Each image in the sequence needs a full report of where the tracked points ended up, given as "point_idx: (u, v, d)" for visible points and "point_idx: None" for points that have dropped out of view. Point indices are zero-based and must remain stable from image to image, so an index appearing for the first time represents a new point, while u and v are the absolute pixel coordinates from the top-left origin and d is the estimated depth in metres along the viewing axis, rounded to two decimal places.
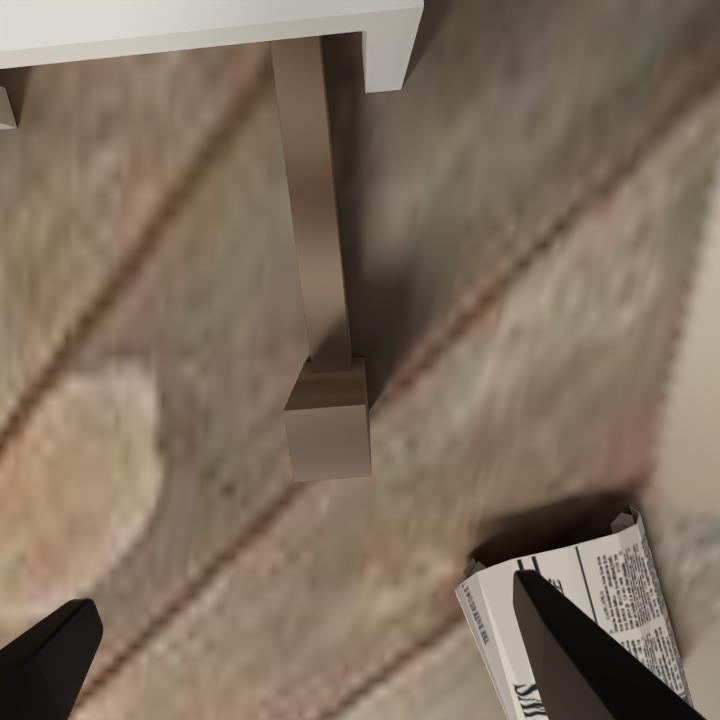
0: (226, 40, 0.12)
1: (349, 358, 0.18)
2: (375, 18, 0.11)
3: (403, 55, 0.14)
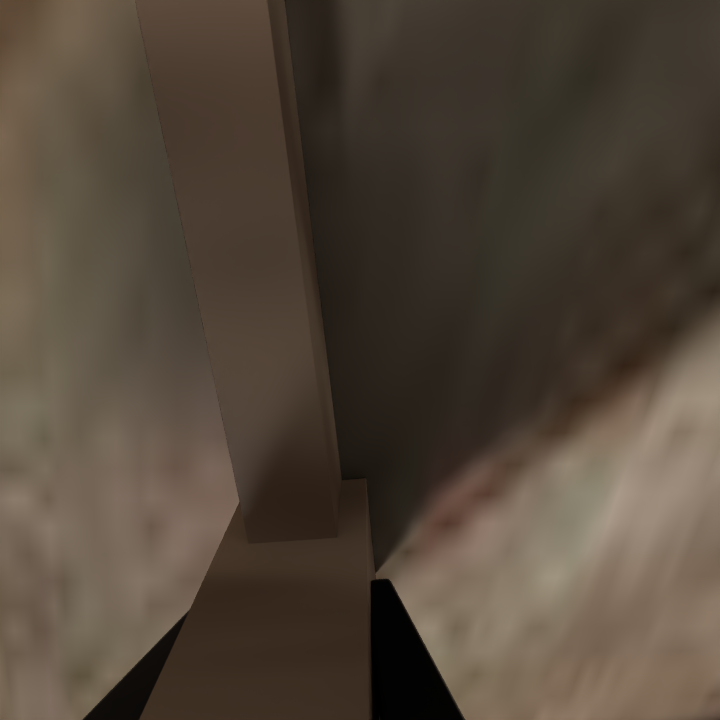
0: None
1: (331, 512, 0.08)
2: None
3: None
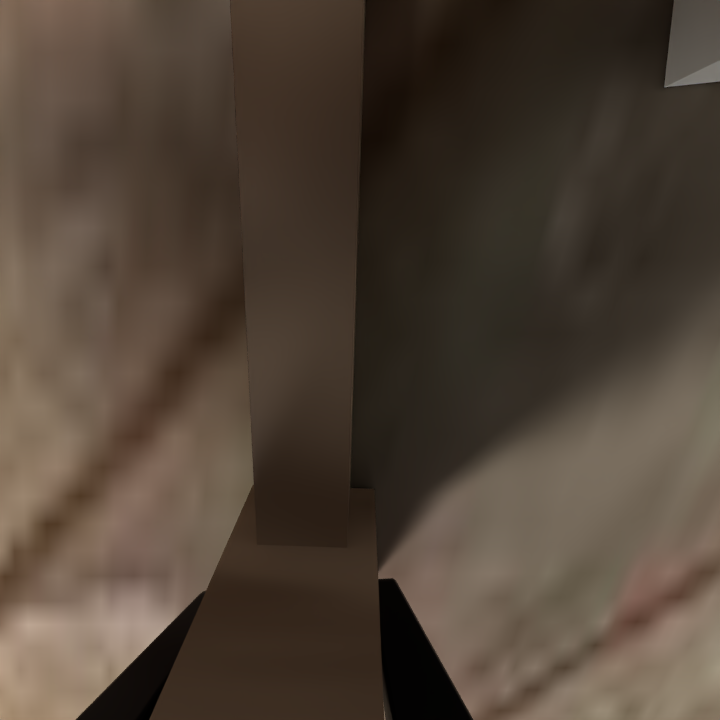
0: None
1: (345, 522, 0.08)
2: None
3: None
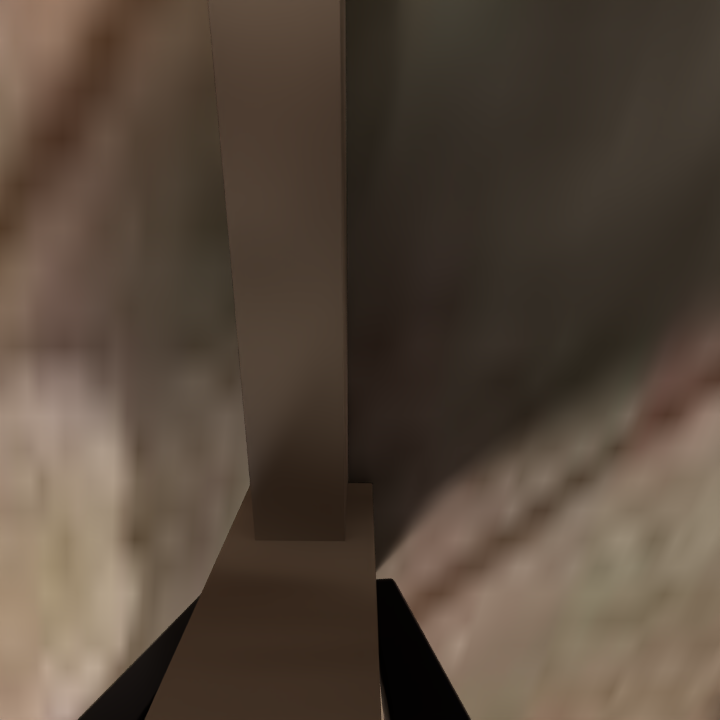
0: None
1: (342, 515, 0.08)
2: None
3: None
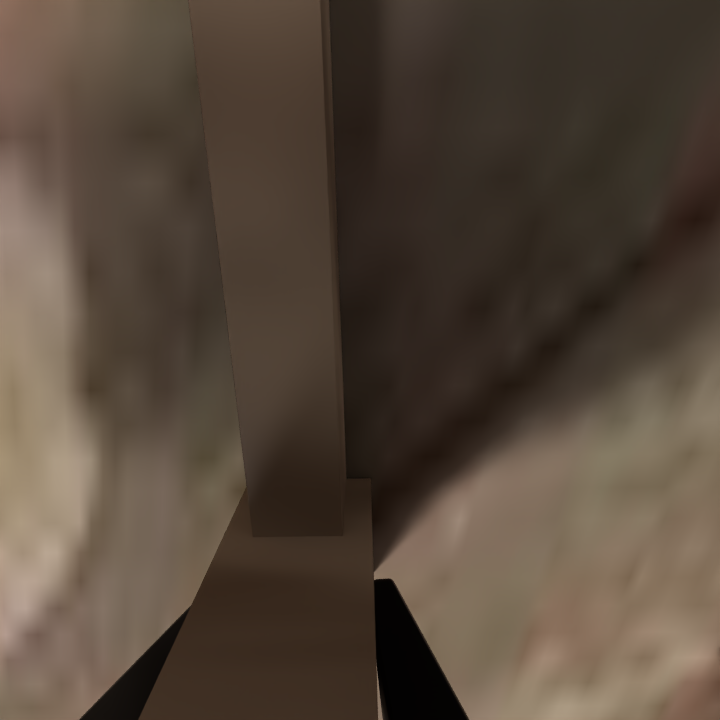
0: None
1: (339, 510, 0.08)
2: None
3: None
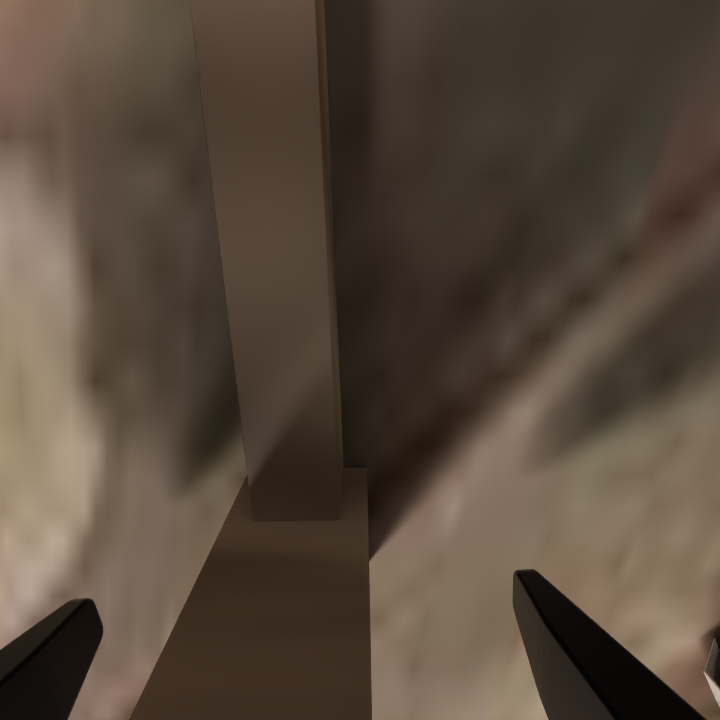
0: None
1: (336, 495, 0.08)
2: None
3: None
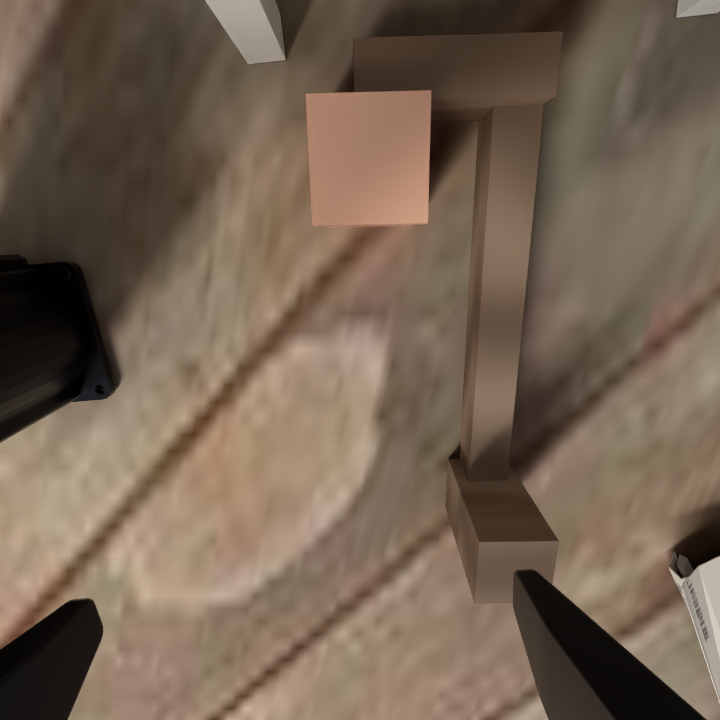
0: None
1: (506, 469, 0.19)
2: None
3: None
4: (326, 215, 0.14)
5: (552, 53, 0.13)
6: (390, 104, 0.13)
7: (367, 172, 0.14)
